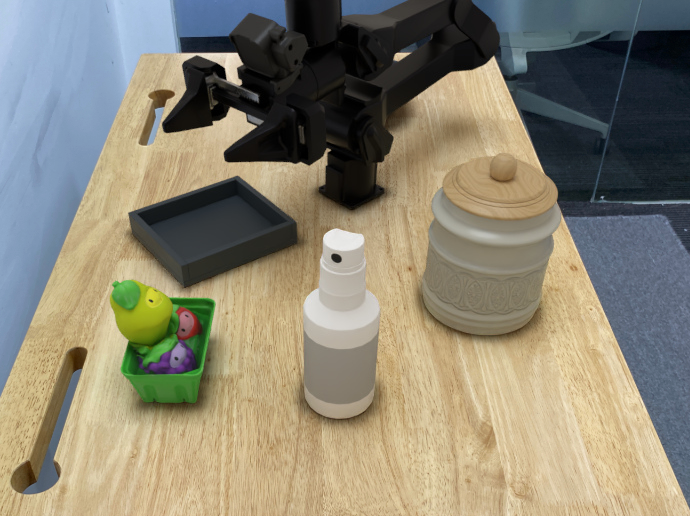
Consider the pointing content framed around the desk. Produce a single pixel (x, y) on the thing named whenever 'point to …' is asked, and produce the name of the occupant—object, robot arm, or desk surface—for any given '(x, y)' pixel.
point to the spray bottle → (341, 331)
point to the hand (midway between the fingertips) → (193, 142)
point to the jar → (490, 244)
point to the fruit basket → (162, 340)
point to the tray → (212, 229)
